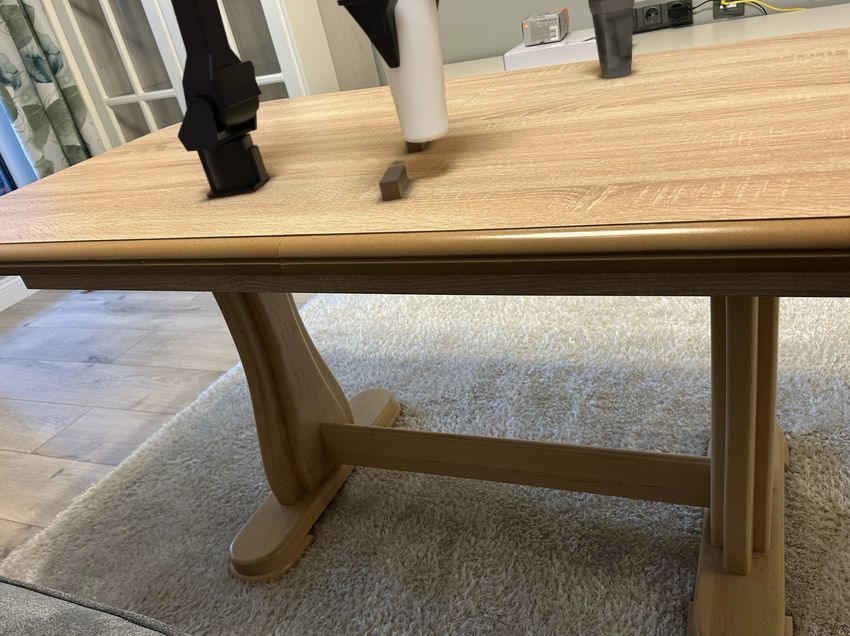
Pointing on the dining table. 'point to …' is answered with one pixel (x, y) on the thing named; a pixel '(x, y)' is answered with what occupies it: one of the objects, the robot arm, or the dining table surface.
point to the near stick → (393, 182)
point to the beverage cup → (613, 35)
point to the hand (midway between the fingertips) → (412, 60)
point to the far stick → (414, 146)
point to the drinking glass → (419, 73)
